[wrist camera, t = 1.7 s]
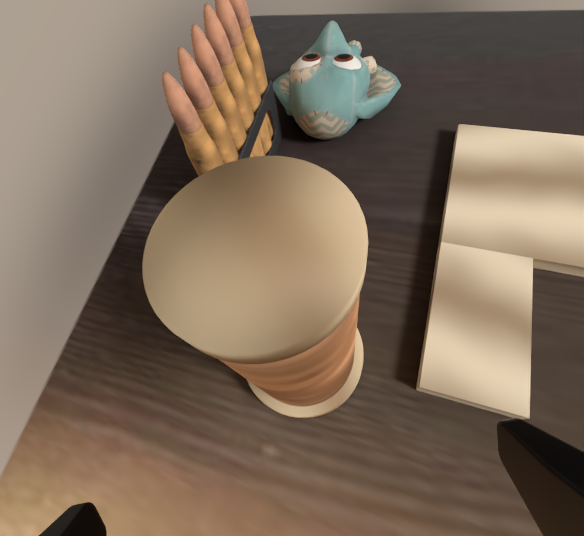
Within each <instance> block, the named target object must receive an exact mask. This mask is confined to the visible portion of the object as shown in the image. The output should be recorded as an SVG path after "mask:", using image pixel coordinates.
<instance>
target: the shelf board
mask: <svg viewBox="0 0 584 536" xmlns="http://www.w3.org/2000/svg"><path fill="white" fill-rule="evenodd" d="M533 268H537V269H543V270H548V271H554V272H559V273H564V274H570V275H575V276H581V277H584V136H577V135H567V134H556V133H546V132H536V131H525V130H515V129H505V128H495V127H484V126H474V125H464V124H459V125H458V128H457V131H456V134H455V140H454V146H453V153H452V159H451V166H450V172H449V179H448V185H447V192H446V198H445V205H444V211H443V217H442V224H441V230H440V237H439V243H438V250H437V256H436V263H435V269H434V276H433V282H432V289H431V295H430V302H429V308H428V315H427V321H426V328H425V334H424V341H423V347H422V354H421V360H420V367H419V373H418V380H417V386H416V390H418V391H422V392H425V393H428V394H432V395H435V396H439V397H442V398H446V399H449V400H453V401H456V402H460V403H463V404H467V405H470V406H474V407H477V408H481V409H484V410H488V411H491V412H495V413H498V414H502V415H505V416H509V417H512V418H519V419H528V418H530V373H531V329H532V284H533Z"/></svg>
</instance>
